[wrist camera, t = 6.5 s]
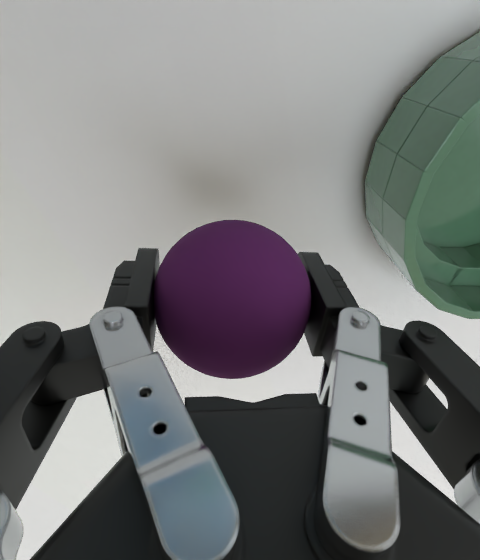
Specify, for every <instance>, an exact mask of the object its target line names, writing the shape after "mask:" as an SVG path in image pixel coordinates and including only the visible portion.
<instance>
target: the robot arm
mask: <svg viewBox="0 0 480 560" xmlns="http://www.w3.org/2000/svg"><path fill="white" fill-rule="evenodd" d="M298 256H299V258H300V259H301V261H302V263H303V265H304V267H305V270H306V273H307V275H308V278H309V282H310V288H311V311H310V316H309V320H308V323H307V326H306V329H305V332H304V334H305V336H306V339H307V342H308V345H309V348H310V351H311V353H312V356H323V357H324V360H325V361H324V364H323V367H322V372H321V378H320V384H319V391H318V397H317V394H316V393H311V394H284V395H281V396H277V397H274V398H270V399H266V400H263V401H259V402H255V403H251V402H245V401H240V400H235V399H229V398H224V397H219V396H215V397H185V405H184V403H183V401H182V399H181V397H180V395H179V393H178V391H177V389H176V387H175V385H174V383H173V380H172V378H171V376H170V374H169V372H168V370H167V368H166V366H165V364H164V362H163V360H162V358H161V356H160V354H159V353H158V352H153V347H154V339H155V331H156V321H155V316H154V305H153V295H154V283H155V279H156V275H157V272H158V270H159V251H158V249H153V248H139V249H138V252H137V256H136V260H135V261H123V262H122V263H121V264H120V265H119V266H118V267H117V268H116V270H115V274H114V277H113V280H112V283H111V286H110V289H109V292H108V295H107V298H106V301H105V305H104V308H103V310H100V311H99V312H97V313H96V314H95V315H94V316H93V317H92V318H91V320H90V324H88V325H86V326H83V327H80V328H76V329H71V330H67V331H63V332H61V329H60V328H59V326H58V325H56V324H54V323H52V322H46V321H41V322H34V323H30V324H27V325H24V326H22V327H20V328H19V329H17V330H16V331H15V332H13V333H12V334H11V336H10V337H9V338H8V339H7V340H6V341H5V342H4V344H3V345H2V346H1V347H0V560H16V556H17V552H18V549H19V547H20V544H21V541H22V537H23V523H22V520H21V518H20V517H19V515H18V513H17V512H16V508H17V507H18V505H19V503H20V501H21V499H22V497H23V496H24V494H25V492H26V490H27V488H28V486H29V484H30V483H31V481H32V479H33V477H34V475H35V473H36V472H37V470H38V468H39V466H40V464H41V462H42V461H43V459H44V457H45V455H46V453H47V451H48V450H49V448H50V446H51V444H52V442H53V440H54V439H55V437H56V435H57V433H58V431H59V429H60V428H61V426H62V424H63V422H64V420H65V418H66V416H67V415H68V413H69V411H70V409H71V407H72V405H73V404H74V402H75V400H76V398H77V397H79V396H82V395H85V394H89V393H92V392H95V391H99V390H102V389H103V390H104V394H105V397H106V401H107V404H108V407H109V411H110V414H111V418H112V421H113V424H114V428H115V431H116V435H117V439H118V443H119V447H120V451H121V455H122V458H121V459H120V460H119V461H118V462H117V463H116V464H115V465H114V466H113V468H112V469H111V470H110V471H109V472H108V473H107V474H106V475H105V476H104V478H103V479H102V480H101V481H100V482H99V483H98V484H97V485H96V487H95V488H94V489H93V490H92V491H91V492H90V493H89V494H88V495H87V497H86V498H85V499H84V500H83V501H82V502H81V503H80V504H79V505H78V507H77V508H76V509H75V510H74V511H73V512H72V513H71V514H70V515H69V517H68V518H67V519H66V520H65V521H64V522H63V523H62V524H61V526H60V527H59V528H58V529H57V530H56V531H55V532H54V533H53V534H52V536H51V537H50V538H49V539H48V540H47V541H46V542H45V543H44V544H43V546H42V547H41V548H40V549H39V550H38V551H37V552H36V553H35V554H34V556H33V557H32V558H31V559H30V560H480V367H479V366H478V365H477V364H476V363H475V362H474V361H473V360H472V359H471V358H470V357H469V356H468V355H467V354H466V353H465V352H464V351H463V350H462V349H461V348H460V347H458V346H457V345H456V344H455V343H454V342H453V341H452V340H451V339H450V338H449V337H448V336H447V335H446V334H445V333H444V332H443V331H441V330H440V329H439V328H437V327H436V326H434V325H432V324H429V323H427V322H423V321H411V322H409V323H407V324H406V326H405V328H404V330H398V329H394V328H389V327H385V326H382V325H380V322H379V320H378V318H377V317H376V316H375V315H374V314H372V313H371V312H369V311H367V310H365V309H362V308H359V306H358V304H357V302H356V301H355V299H354V297H353V296H352V294H351V292H350V290H349V289H348V288H347V285H346V283H345V282H343V278H342V277H341V275H340V273H339V272H338V271H337V270H336V269H335V268H333V267H332V266H331V265H324V263H323V261H322V259H321V257H320V255H319V254H318V253H315V252H299V253H298ZM429 378H430V379H431V380H432V381H433V382H434V383H435V385H436V386H437V387H438V388H439V389H440V390H441V391H442V393H443V394H444V395H445V397H446V399H447V402H448V409H446V407H445V406H444V405H443V404H442V403H441V402H440V400H439V399H438V398H437V397H436V396H435V395H434V393H433V392H432V391H431V390H430V389H429V388H428V386H427V385H426V383H427V381H428V379H429ZM390 402H391V403H392V405H393V406H394V407H395V409H396V410H397V411H398V413H399V414H400V416H401V417H402V418H403V420H404V421H405V423H406V424H407V425H408V427H409V428H410V429H411V431H412V432H413V434H414V435H415V436H416V438H417V439H418V440H419V442H420V443H421V445H422V446H423V447H424V449H425V450H426V451H427V453H428V454H429V456H430V457H431V458H432V460H433V461H434V462H435V464H436V465H437V467H438V468H439V469H440V471H441V472H442V474H443V475H444V476H445V478H446V479H447V480H448V482H449V483H450V485H451V486H452V487H453V489H454V496H455V500H456V503H457V504H455V503H454V502H453V501H452V500H450V499H449V498H448V497H447V496H446V495H444V494H443V493H442V492H441V491H440V490H438V489H437V488H436V487H435V486H433V485H432V484H431V483H430V482H429V481H427V480H426V479H425V478H424V477H423V476H421V475H420V474H419V473H418V472H417V471H415V470H414V469H413V468H412V467H411V466H409V465H408V464H407V463H406V462H404V461H403V460H402V459H401V458H400V457H398V456H397V455H396V454H395V453H394V452H392V444H391V421H390Z"/></svg>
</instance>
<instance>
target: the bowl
mask: <svg viewBox="0 0 480 560" xmlns="http://www.w3.org/2000/svg"><path fill="white" fill-rule="evenodd" d="M365 197H366V216H367V220H368V222H369V224H370V227H371V229H372V231H373V233H374V236H375V238H376V240H377V242H378V244H379V245H380V246H381V248H382V249H383V250H384V251H385V253H386V254H387V255H388V256H389V258H390V259H391V260H392V261H393V262H394V264H395V265H396V266H397V267H398V269H399V270H400V271H401V272H402V274H403V275H404V276H405V277H406V278H407V280H408V281H409V282H410V283H411V285H412V286H413V287H414V288H415V289H416V291H418V292H419V293H420V294H421V295H422V296H423V297H424V298H426V299H427V300H428V301H429V302H430V303H431V304H433V305H434V306H435V307H436V308H437V309H439V310H442V311H445V312H448V313H452V314H455V315H458V316H461V317H464V318H469V319H480V32H479V33H477V34H476V35H474V36H472V37H471V38H469V39H468V40H466V41H465V42H463V43H461V44H460V45H458V46H457V47H455V48H453V49H452V50H450V51H449V52H447V53H446V54H444V55H442V56H441V57H440V58H439V59H438V60H437V61H436V62H435V63H434V64H433V65H432V66H431V67H430V68H429V69H428V70H427V71H426V72H425V73H424V74H423V75H422V76H421V77H420V78H419V80H418V81H417V82H416V83H415V84H414V85H413V86H412V87H411V88H410V89H409V90H408V91H407V92H406V93H405V94H404V95H403V96H402V98H401V99H400V101H399V103H398V104H397V106H396V108H395V110H394V111H393V113H392V115H391V116H390V118H389V120H388V122H387V123H386V125H385V127H384V128H383V130H382V132H381V133H380V135H379V137H378V139H377V141H376V143H375V147H374V150H373V154H372V157H371V161H370V165H369V168H368V172H367V175H366V179H365Z"/></svg>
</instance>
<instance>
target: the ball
mask: <svg viewBox="0 0 480 560" xmlns="http://www.w3.org/2000/svg"><path fill="white" fill-rule="evenodd" d="M153 305H154V316H155V321H156V324H157V327H158V329H159V331H160V334H161V336H162V338H163V339H164V341H165V343H166V344H167V345H168V347H169V348H170V349H171V351H172V352H173V353H174V354H175V355H176V356H177V357H178V358H179V359H180V360H181V361H183V362H184V363H185V364H187V365H188V366H190V367H191V368H193V369H195V370H197V371H199V372H201V373H204V374H206V375H210V376H213V377H218V378H227V379H238V378H246V377H251V376H254V375H257V374H260V373H262V372H265V371H267V370H269V369H271V368H272V367H274V366H276V365H277V364H279V363H280V362H281V361H283V360H284V359H285V358H286V357H287V356H288V355H289V354H290V353H291V352H292V351H293V349H294V348H295V347H296V345H297V344H298V343H299V341H300V339H301V337H302V335H303V334H304V332H305V329H306V326H307V323H308V320H309V316H310V311H311V288H310V282H309V278H308V275H307V273H306V270H305V267H304V265H303V263H302V261H301V259H300V258H299V256H298V254H297V253H296V252H295V250H294V249H293V248H292V247H291V246H290V245H289V244H288V243H287V242H286V241H285V240H284V239H283V238H282V237H281V236H279V235H278V234H276V233H275V232H273V231H271V230H270V229H268V228H266V227H264V226H261V225H259V224H256V223H252V222H248V221H241V220H223V221H217V222H212V223H209V224H205V225H203V226H201V227H198V228H196V229H194V230H193V231H191V232H189V233H188V234H186V235H185V236H184V237H182V238H181V239H180V240H179V241H178V242H177V243H176V244H175V245H174V246H173V247H172V248H171V249H170V251H169V252H168V253H167V254H166V256H165V258H164V260H163V262H162V263H161V265H160V267H159V270H158V272H157V275H156V279H155V283H154V295H153Z"/></svg>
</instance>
